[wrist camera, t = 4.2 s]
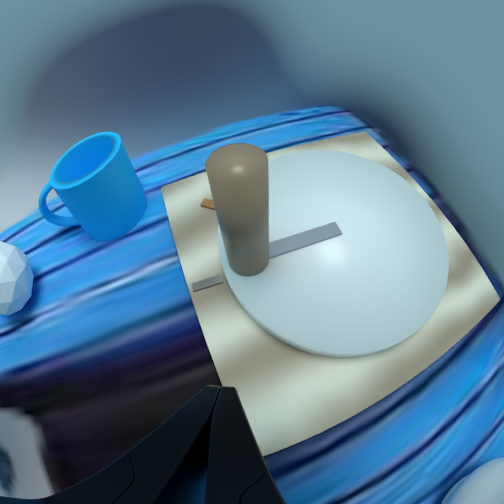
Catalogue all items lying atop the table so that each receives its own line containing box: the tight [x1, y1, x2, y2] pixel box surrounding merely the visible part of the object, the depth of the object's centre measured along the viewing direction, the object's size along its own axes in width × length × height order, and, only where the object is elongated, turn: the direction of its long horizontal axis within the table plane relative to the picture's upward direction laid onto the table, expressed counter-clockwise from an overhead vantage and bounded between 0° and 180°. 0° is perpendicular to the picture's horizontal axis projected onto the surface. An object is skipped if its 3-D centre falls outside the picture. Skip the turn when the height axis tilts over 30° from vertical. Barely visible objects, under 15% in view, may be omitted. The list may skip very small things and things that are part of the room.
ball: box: [0, 241, 34, 315], centre depth 20 cm, size 8×8×8 cm
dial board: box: [161, 132, 500, 456], centre depth 24 cm, size 26×26×2 cm
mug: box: [39, 132, 147, 241], centre depth 25 cm, size 12×8×8 cm
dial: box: [205, 143, 449, 358], centre depth 18 cm, size 20×20×10 cm
